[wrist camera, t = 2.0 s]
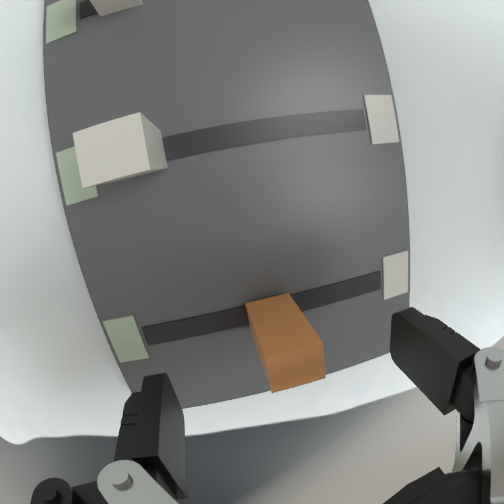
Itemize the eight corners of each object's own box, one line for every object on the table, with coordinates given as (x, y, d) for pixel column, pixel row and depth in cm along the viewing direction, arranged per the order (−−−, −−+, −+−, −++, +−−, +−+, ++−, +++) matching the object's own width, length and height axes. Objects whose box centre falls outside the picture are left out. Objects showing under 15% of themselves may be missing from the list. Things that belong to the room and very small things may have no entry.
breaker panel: (322, -57, 12) (370, -119, 5) (386, 327, 19) (452, 389, 13) (62, -21, 10) (16, -82, 3) (147, 387, 18) (134, 479, 11)
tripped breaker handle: (288, 292, 14) (323, 342, 10) (292, 322, 15) (325, 377, 11) (245, 303, 14) (264, 358, 10) (251, 333, 15) (271, 393, 10)
